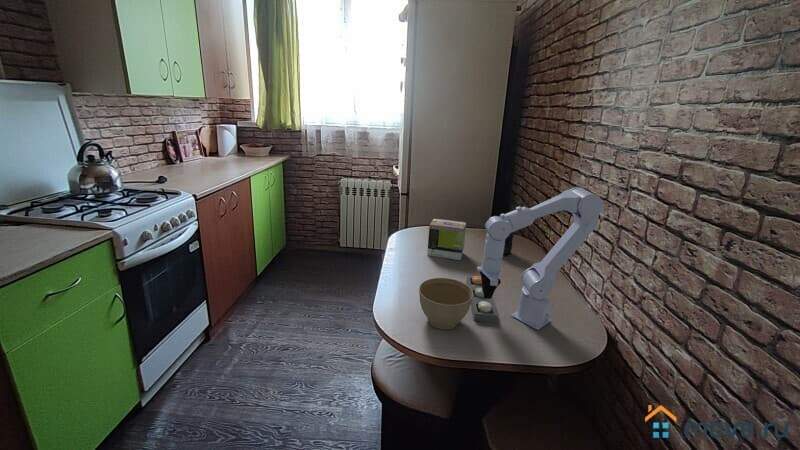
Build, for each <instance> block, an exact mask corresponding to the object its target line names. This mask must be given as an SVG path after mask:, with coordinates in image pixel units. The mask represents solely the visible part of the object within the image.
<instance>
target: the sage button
mask: <svg viewBox="0 0 800 450" xmlns="http://www.w3.org/2000/svg"><path fill="white" fill-rule="evenodd" d="M475 297H477V298H484V293H483V291H482V288H476V289H475Z"/></svg>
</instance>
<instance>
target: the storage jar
mask: <svg viewBox="0 0 800 450" xmlns="http://www.w3.org/2000/svg"><path fill="white" fill-rule="evenodd" d="M515 232H516V231H514V232H512V233H510V234H509V236H508V237H507V238H506V239H505V245H504V251H503V257H502V258H505V257H510V256H511V253H512V249H513V239H514V235H515Z"/></svg>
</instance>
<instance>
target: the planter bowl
mask: <svg viewBox="0 0 800 450" xmlns="http://www.w3.org/2000/svg"><path fill="white" fill-rule="evenodd" d="M418 293H419V304H420V307H421V310H422V312H423V313H424V315H425V317H426V318H427V322H428V323H429V324H430V325H431V326H432V327H434V328H437V329H440V330H451V329H454V328H456V327H457V326H458V325H459V323H460V322H461V321H462V320H463V319H464V318H465V316H466V315H467V314H468V312H469V310H470V309H471V300H472V298H473V292H472V290H471V288H470V287H469V286H468V285H466V282H465V283H464V282H462V281H460V280H458V279H454V278H448V277H432V278H429V279H425V280H424V281H422V282H421V284H420V285H419V288H418Z"/></svg>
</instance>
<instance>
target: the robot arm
mask: <svg viewBox="0 0 800 450" xmlns="http://www.w3.org/2000/svg"><path fill="white" fill-rule="evenodd" d="M604 210H605V209H604V205H603V200H602V198H601V197H600V196H599V195H598V194H595V193H593V192H590V191H588V190H586V189H585V188H584V187H582V186H574V187H572V188H571V189H566V190H564V191H562V192H561V193H559V194H558V195H556V196H554V197H551V198H550V199H547V200H545V201H543V202H540V203H538V204H536V205H534V206H532V207H526V206H522V207H521V206H520V205H519V206H516V207H515V209H514V210H512V211H509V212H506V213H500V214H499V215H498V216H497V215H494V216H491V217H489V219H488V220H487V221H486V223H485V224H484V228H485V230H486V231H487V232H486V235H485V240H484V247H483V253H482V254H483V255H482V261H481V266H477V268H476V269H477V271H478V272H479V274H480V277H481V279H482V291H483V293H484V298H487V299H491V298H492V299H493V295H494V293H495V291H496V290H497V288H498V286H499V285H500V284H501V283H502V282H501V279H500V276H501V272H502V270H501V268H502V262H503V258H504V257H503V251H504V245H505V239H506V238H507V237H508V236H509V234H510V233H512V232H514V231H515V232H516V231H518V230H522V229H524V228H526V227H529V226H531V225H533V223H534V221H535V220H537V219H539V218H542V217H544V216H548V215H551V214H554V213H557V212H560V211H565V212H568V213H572V214H571V215H572V219H573V223H572V224H571V225H570V226H569V228H568V229H567V230H566V231H565V232H564V234H563V235H562V236H561V237H560V238H559V240H557V242H556V243H555V245H553V247H551V249H550V250H549V251H548V253H546V255H545V256H544V258H543V259H541V261H539V262H535V263H533V264H532V265H531V266H530V267H529V268H527V269H525V270H524V271H523V272H522V273H521V275H520V280H521V282H522V284H523V286H522V288H521V292H520V296H519V302H518V307H517V310H516V311H515V312H513V313H512V314H511V317H513V318H514V319H517V320H518V321H521V323H524V324H526V325H528V326H529V327H532V328H533V329H535V330H541V328H543V327H544V326H546V325H547V324H549V323H550V322H551V316H552V310H553V307H554V302H553V301H552V300H550V299H549V298H548V296H550V294H551V291H552V288H553V286H554V285H555V284H556V275H557V272H559V271H560V270H561V268H562V267H563V266H564V265H565V264H566V262H567V261H568V260H569V259H570V258H571V256H573V254H575V252H576V251H577V250H578V249H579V247H580V246H581V245H582V244H583V242H585V241H586V239H587V238H588V237H589V236H590V235H591V234H592V232H593V231H594V230H595V229H596V227H597V223H598V221H599V220H598V219H599V216H600V215H601V213H602V212H603V211H604ZM515 232H514V233H515Z"/></svg>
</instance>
